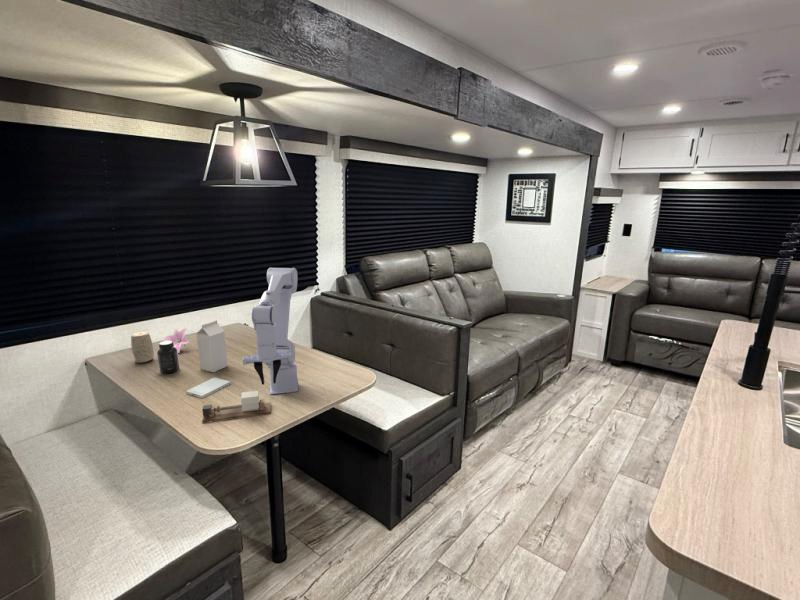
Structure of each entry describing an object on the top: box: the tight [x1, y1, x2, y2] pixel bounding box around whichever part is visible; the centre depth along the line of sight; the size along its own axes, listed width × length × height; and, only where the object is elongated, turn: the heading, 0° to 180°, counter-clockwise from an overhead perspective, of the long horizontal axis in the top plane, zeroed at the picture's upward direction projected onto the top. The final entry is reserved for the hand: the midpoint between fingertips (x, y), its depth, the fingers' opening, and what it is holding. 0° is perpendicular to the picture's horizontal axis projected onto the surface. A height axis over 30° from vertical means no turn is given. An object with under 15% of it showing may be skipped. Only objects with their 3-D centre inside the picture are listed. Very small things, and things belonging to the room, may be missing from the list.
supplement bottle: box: [156, 340, 180, 375], centre depth 161 cm, size 7×7×12 cm
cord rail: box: [201, 399, 272, 423], centre depth 132 cm, size 20×6×4 cm, turn 108°
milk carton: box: [196, 319, 228, 373], centre depth 164 cm, size 7×7×19 cm
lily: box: [163, 327, 190, 354], centre depth 184 cm, size 12×12×10 cm
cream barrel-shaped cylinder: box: [130, 331, 155, 364], centre depth 170 cm, size 6×8×12 cm
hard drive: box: [184, 377, 231, 399], centre depth 149 cm, size 2×8×12 cm
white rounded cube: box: [240, 390, 260, 412], centre depth 133 cm, size 5×4×5 cm
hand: (268, 382), depth 133 cm, fingers open, 3 cm apart
